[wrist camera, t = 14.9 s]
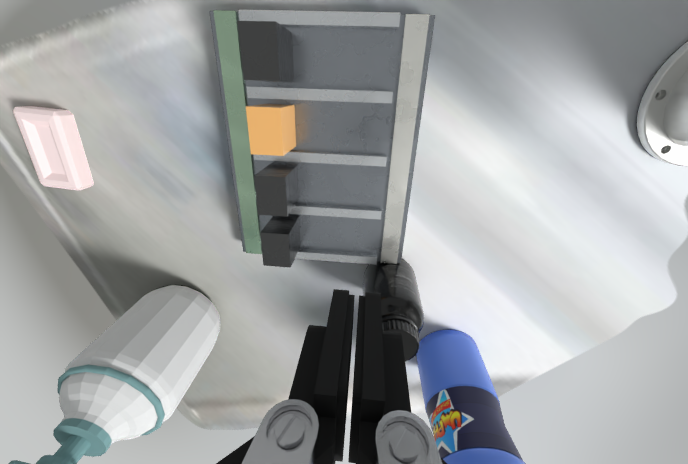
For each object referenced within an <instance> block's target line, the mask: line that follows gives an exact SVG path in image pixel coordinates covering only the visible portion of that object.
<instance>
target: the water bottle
mask: <svg viewBox="0 0 688 464" xmlns="http://www.w3.org/2000/svg"><path fill="white" fill-rule="evenodd" d="M419 344H420V345H419V350H418V353H416V356H417V362H418V368H419V374H420V380H421V386H422V392H423V397H424V403H425V409H426V413H427V415H428V418H429V422H430V425H431V428H432V431H433V434H434V439H435V442H436V445H437V448H438V451H439V454H440V457H441V458H442V459H443V460H444V461H445V462H446V463H447V464H525V462H523V460H522V458H521V456H520V454H519V452H518V450H517V448H516V446H515V445H514V443H513V441H512V439H511V437H510V435H509V433H508V431H507V429H506V427H505V424H504V420H503V416H502V412H501V408H500V403H499V400H498V397H497V394H496V392H495V389H494V387H493V384H492V382H491V379H490V377H489V374H488V372H487V370H486V367H485V365H484V362H483V360H482V357H481V355H480V352H479V350H478V347H477V345H476V343H475V341H474V340H473V339H472V338H471V337H470V336H469V335H467V334H466V333H463V332H461V331H457V330H440V331H436V332H433V333H430V334H429V335H427V336H425V337H424V338H423V339H422V340H421V341H420V342H419Z"/></svg>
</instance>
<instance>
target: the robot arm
mask: <svg viewBox="0 0 688 464" xmlns="http://www.w3.org/2000/svg"><path fill="white" fill-rule="evenodd" d="M637 130H638V136H639V139H640V141H641V144H642V146H643V147H644V148H645V149H646V151H647V152H648V153H649V154H651V155H652V156H653V157H655V158H656V159H658V160H661V161H664V162H666V163H670V164H675V165H679V166H688V42H686V43H685V44H684V45H683V46H681V47H680V48H679V49H678V50H677V51H676V52H675V53H674V54H672V55H671V56H670V57H669V58H668V60H667V61H666V62H665V63H664V64H663V65H662V66H661V68H660V69H659V70H658V71H657V73H656V74H655V76H654V77H653V79H652V80H651V82H650V83H649V85H648V87H647V89H646V91H645V93H644V95H643V97H642V100H641V103H640V107H639V110H638V116H637ZM353 312H354V295H349V291H347V290H335V289H334V291H333V296H332V302H331V307H330V312H329V317H328V323H327V327H324V326H313V325H309V326H308V329H307V332H306V336H305V340H304V344H303V347H302V351H301V355H300V358H299V362H298V366H297V369H296V373H295V377H294V381H293V384H292V388H291V392H290V395H289V399H288V400H285V401H282V402H280V403H278V404H276V405H275V406H274V407H273V408H271V409H270V410H269V411H268V413H267V414H266V416H265V417H264V419H263V420H262V422H261V425H260V427H259V429H258V431H257V433H256V435H255V436H254V437H253V438H252V439H250V440H249V441H247V442H246V443H245V444H243V445H242V446H240V447H239V448H238V449H236V450H235V451H233V452H232V453H231V454H229V455H228V456H226V457H225V458H223V459H222V460H221V461H219V462H218V463H217V464H335V461H342V460H343V448H344V435H345V423H346V411H347V398H348V386H349V373H350V361H351V346H352V329H353ZM349 462H351V463H356V464H447V463H446V462H445V461H444V460H443V459H442V458H441V457H440V454H439V451H438V448H437V445H436V442H435V439H434V436H433V434H432V432H431V430H430V428H429V427H428V426H427V425H426V423H425V422H424V421H423V420H422V419H421V418H419V417H418V416H417V415H415V414H413V413H411V407H410V399H409V390H408V382H407V374H406V366H405V357H404V349H403V341H402V335H401V333H393V332H382V312H381V293H373V292H365V296H359V307H358V322H357V337H356V351H355V367H354V383H353V398H352V414H351V430H350V446H349Z"/></svg>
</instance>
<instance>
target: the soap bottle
mask: <svg viewBox="0 0 688 464" xmlns="http://www.w3.org/2000/svg"><path fill="white" fill-rule="evenodd" d="M219 331H220V317H219V312H218V311H217V309H216V308H215V306H214V304H213V303H212V302H211V301H210V300H209V299H208V298H207V297H205V296H204V295H203V294H202V293H200V292H198V291H196V290H193V289H191V288H189V287H185V286H177V285H171V286H166V287H162V288H159V289H156V290H153V291H151V292H149V293H148V294H146V295H144V296H143V297H142V298H141V299H140V300H139V301H138V302H137V303H135V304H134V305H133V306H132V307H131V308H130V309H129V310H128V311H127V312H125V313H124V314H123V315H122V316H121V317H120V318H119V319H118V320H117V321H116V322H114V323H113V324H112V325H111V326H110V327H109V328H108V329H107V330H106V331H104V332H103V333H102V334H101V335H100V336H99V337H98V338H97V339H96V340H95V341H94V342H92V343H91V344H90V345H89V346H88V347H87V348H86V349H85V350H84V351H82V352H81V353H80V354H79V355H78V356H77V357H76V358H75V359H74V360H73V361H72V362H70V363H69V365H68V366H67V367H66V370H65V373H64V374H63V375H62V376H61V377H59V379H58V393H59V395H60V397H59V402H60V407H61V409H62V411H63V413H64V419H63V420H62V422H61V423H60V424H59V425H58V426H57V427H56V428H55V429H54V437H55V438H56V440H57V441H58V442H59V443H60V444H61V445H62V446H61V447H60V448H59V450H58V451H57V452H56V453H55V454H54V455H45V456H43V457H41V458H40V460H39V461H38V462H37V463H36V464H77V462H78V461H79V460H80V459H81V457H82V456H83V455H85V456H101V455H102V454H104V453H105V452H106V451H107V450H108V448H109V447H110V445H111V444H112V443H113V442H115V441H119V440H128V439H132V438H136V437H139V436H141V435H148V434H150V433H151V432H153V431H155V430H157V429H158V428H160V426H161V424H162V422H164V421H166V420H167V419H168V418H169V417H170V416H171V415H172V414H173V412H174V411H175V409H176V407H177V406H178V404H179V402H180V401H181V399H182V398H183V396H184V394H185V393H186V391H187V389H188V388H189V386H190V385H191V383H192V381H193V380H194V378H195V376H196V375H197V373H198V372H199V370H200V368H201V367H202V365H203V363H204V362H205V360H206V359H207V357H208V355H209V354H210V352H211V350H212V349H213V347H214V344H215V342H216V340H217V337H218V334H219ZM9 464H29V463H25V462H21V461H17V460H16V461H11V462H10V463H9Z"/></svg>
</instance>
